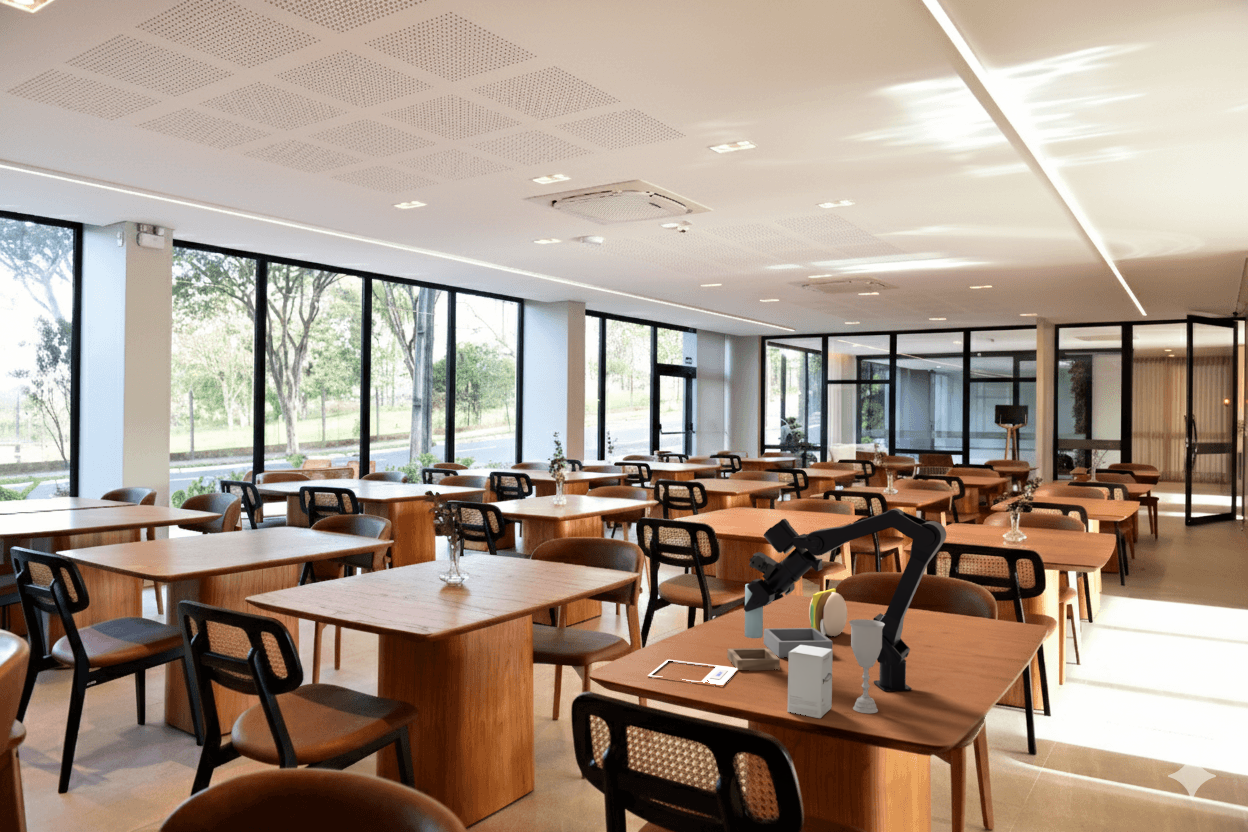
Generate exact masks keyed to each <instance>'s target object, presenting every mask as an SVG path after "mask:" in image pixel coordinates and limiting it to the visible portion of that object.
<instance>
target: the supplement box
mask: <svg viewBox="0 0 1248 832" xmlns="http://www.w3.org/2000/svg"><path fill="white" fill-rule="evenodd" d="M787 660H788V664H787V665H788V669H787V671H788V672H787V673H788V674H787V709H786V711H787V713H790V712H791V713H790V714H795V713H796V715H800V714H801V716H805V715H806V716H805V717H810V718H816V719H821V718H822V717H823V716H824V715H825V714H827V713H828V712H829V711H830V710H831V709H832V704H833V703H832V702H833V701H832V700H833V699H832V697H833V648H832V649H828V648H821V647H814V646H807V645H799V646H798V647H796V648H794V649H793V650H791V651H790V652H789V658H787Z"/></svg>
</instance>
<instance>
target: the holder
mask: <svg viewBox="0 0 1248 832" xmlns="http://www.w3.org/2000/svg"><path fill="white" fill-rule="evenodd" d="M726 650H727V654H726V655H727V658H728V659H729V660H730V661H731V662H732V664H733V665H734V666H735V667H736V668H737V669H738V670H749V671H780V670H781V667H780V665H781V660H780V659H781V658H778V657H777V656H776V655H775V654H774V653H773V652H772V651H771V650H770V649H769V648H768V647H753V648H752V647H751V648H749V647H746V648H742V647H741V648H740V647H739V648H727V649H726ZM728 659H727V660H728ZM729 660H728V661H729ZM730 661H729V662H730ZM731 662H730V663H731ZM732 664H731V665H732ZM733 665H732V666H733ZM734 666H733V667H734ZM774 669H775V670H774ZM776 669H778V670H776Z"/></svg>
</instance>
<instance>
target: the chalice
mask: <svg viewBox="0 0 1248 832" xmlns="http://www.w3.org/2000/svg"><path fill="white" fill-rule="evenodd" d="M848 624H849V625H850V627H851V628H850V632H851V633H850V634H851V635H850V641H851V642H850V646H851V649H852V653H853V655H854V658H855V659H856V661H857V664H858V666H859V667H861V668H863V673H862V676H861V678H862V680H863V682H862V684H861V687H862V690H863V691H862V692H863V693H862V695H861V696H858V697H857V698H856V701H855V702H854V706H853V707H852V709H853V711H856V712H858V713H862V714H876V713H878V712H879V709H878V707H877V704H876V703H875V700H874V698H873V697H871V696H870V695H869V689H870V688H871V685H870V684H869V680H870V678H871V677H870V675H869V670H870V669H871V668H873V667H874V666H875V664H876V662H877V658H878V656H879V654H880V651H881V649H882V629H883V627H884V625H885V624H884V623H883V622H880V621H875V620H873V619H867V618H866V619H865V618H864V619H862V618H861V619H860V618H858V619H852V620H851V619H850V620H849V621H848Z"/></svg>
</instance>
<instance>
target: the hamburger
mask: <svg viewBox="0 0 1248 832" xmlns="http://www.w3.org/2000/svg"><path fill="white" fill-rule="evenodd" d="M836 590H837V589H836V588H835V587H834V588H830V589H827V590H823V591H817V592H816V593H813V594H812V598H811V600H810V603H809V608H808V617H809V622H810V628H815V629H816V630H818V631H819V632H821V633H822V634H823V635H825V636H829V637H832V636H834V637H837V636H838V635H840V634H841V632H842V633H843V631H844V629H845V627H846V624H847V619H848V607H847V604H846V601H845V599H844V598H843V596H842V594H839V593H838V592H837V591H836Z"/></svg>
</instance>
